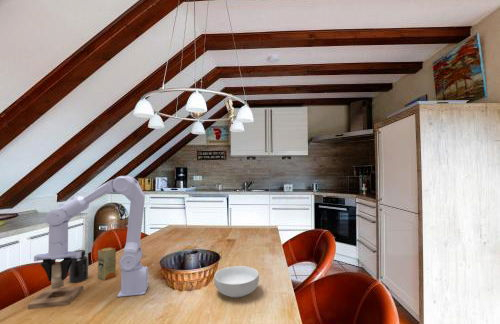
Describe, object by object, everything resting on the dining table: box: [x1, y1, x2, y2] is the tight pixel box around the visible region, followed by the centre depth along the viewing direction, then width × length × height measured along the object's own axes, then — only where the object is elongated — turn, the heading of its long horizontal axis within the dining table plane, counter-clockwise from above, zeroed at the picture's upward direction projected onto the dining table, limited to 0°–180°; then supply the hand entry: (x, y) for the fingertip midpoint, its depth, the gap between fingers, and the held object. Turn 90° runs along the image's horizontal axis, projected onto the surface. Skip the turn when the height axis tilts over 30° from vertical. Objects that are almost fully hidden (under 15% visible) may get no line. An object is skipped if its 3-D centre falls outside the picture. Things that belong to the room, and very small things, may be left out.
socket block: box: [27, 285, 84, 310], centre depth 94 cm, size 12×12×2 cm
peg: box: [50, 262, 65, 289], centre depth 94 cm, size 4×4×8 cm
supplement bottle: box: [68, 249, 89, 284], centre depth 111 cm, size 7×7×12 cm
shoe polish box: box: [97, 246, 117, 282], centre depth 113 cm, size 5×5×12 cm
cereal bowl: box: [213, 265, 260, 299], centre depth 97 cm, size 17×17×7 cm
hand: (57, 279), depth 94 cm, fingers closed on peg, 4 cm apart
